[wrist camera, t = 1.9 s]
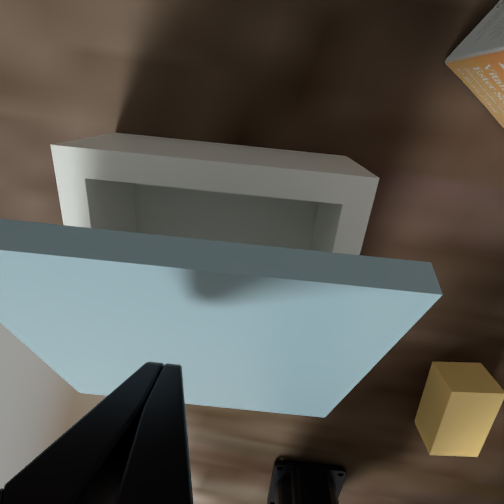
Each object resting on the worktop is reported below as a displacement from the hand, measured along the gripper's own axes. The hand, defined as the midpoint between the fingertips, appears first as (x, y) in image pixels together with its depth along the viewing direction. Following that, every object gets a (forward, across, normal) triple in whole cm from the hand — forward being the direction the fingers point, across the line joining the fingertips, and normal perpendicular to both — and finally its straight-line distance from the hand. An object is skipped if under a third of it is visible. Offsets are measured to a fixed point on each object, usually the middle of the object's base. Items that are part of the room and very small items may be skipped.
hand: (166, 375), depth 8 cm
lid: (+4, 0, +3) cm, 5 cm away
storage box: (+13, 0, +2) cm, 13 cm away
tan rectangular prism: (+13, -18, +13) cm, 26 cm away
